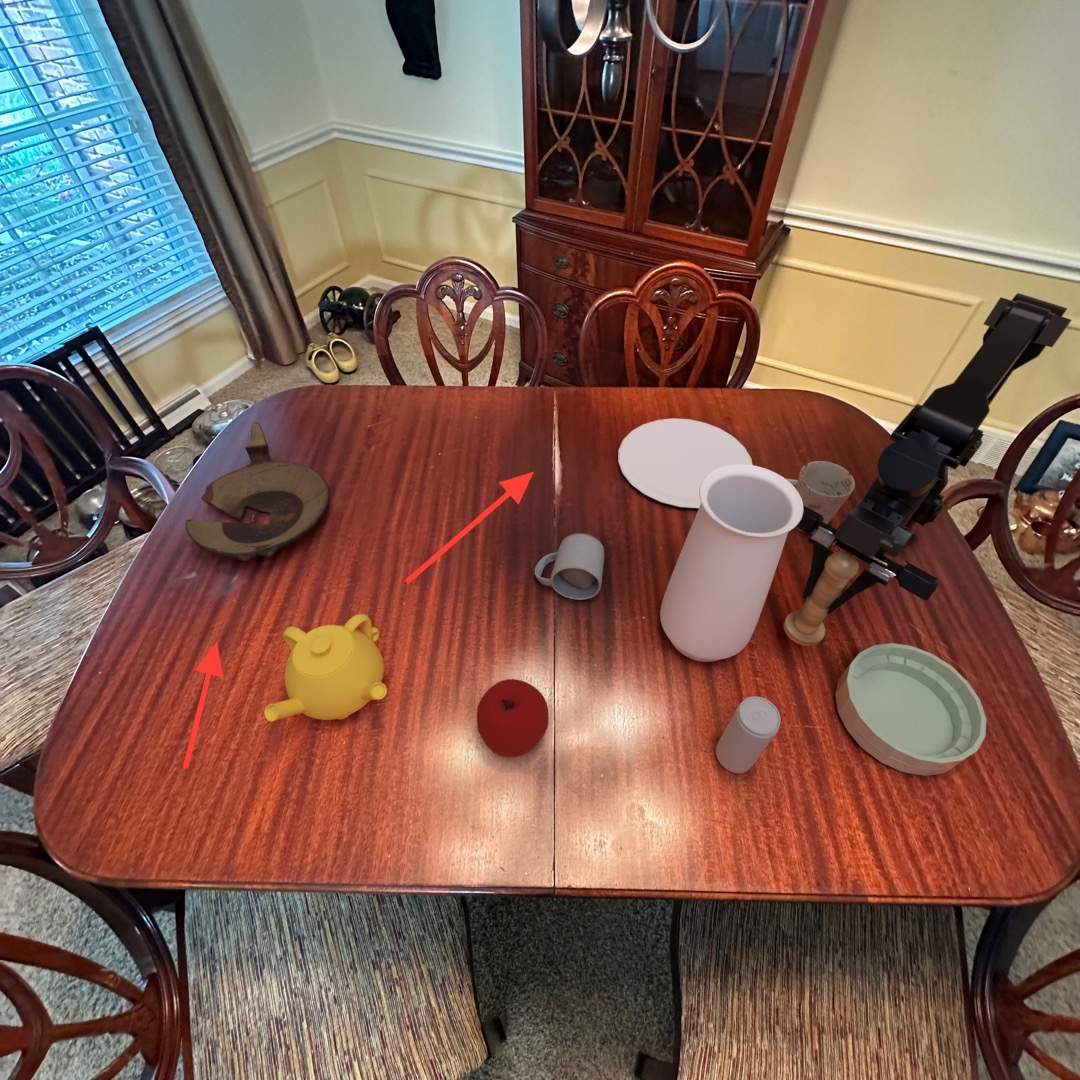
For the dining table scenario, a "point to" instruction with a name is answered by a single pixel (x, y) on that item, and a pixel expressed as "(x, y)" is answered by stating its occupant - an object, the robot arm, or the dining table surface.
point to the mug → (824, 487)
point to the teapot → (331, 671)
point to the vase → (728, 561)
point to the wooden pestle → (821, 600)
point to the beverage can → (747, 734)
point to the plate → (677, 458)
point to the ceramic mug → (575, 567)
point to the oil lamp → (261, 504)
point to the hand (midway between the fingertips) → (815, 606)
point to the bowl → (910, 709)
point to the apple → (512, 717)
